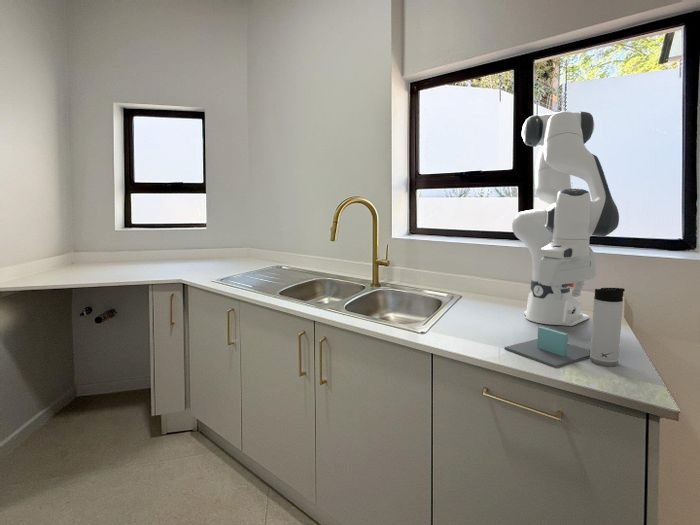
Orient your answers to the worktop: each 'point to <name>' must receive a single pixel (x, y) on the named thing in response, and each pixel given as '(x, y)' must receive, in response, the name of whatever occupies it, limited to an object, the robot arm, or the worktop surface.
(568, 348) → the mat
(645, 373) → the worktop surface
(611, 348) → the travel mug
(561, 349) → the block
